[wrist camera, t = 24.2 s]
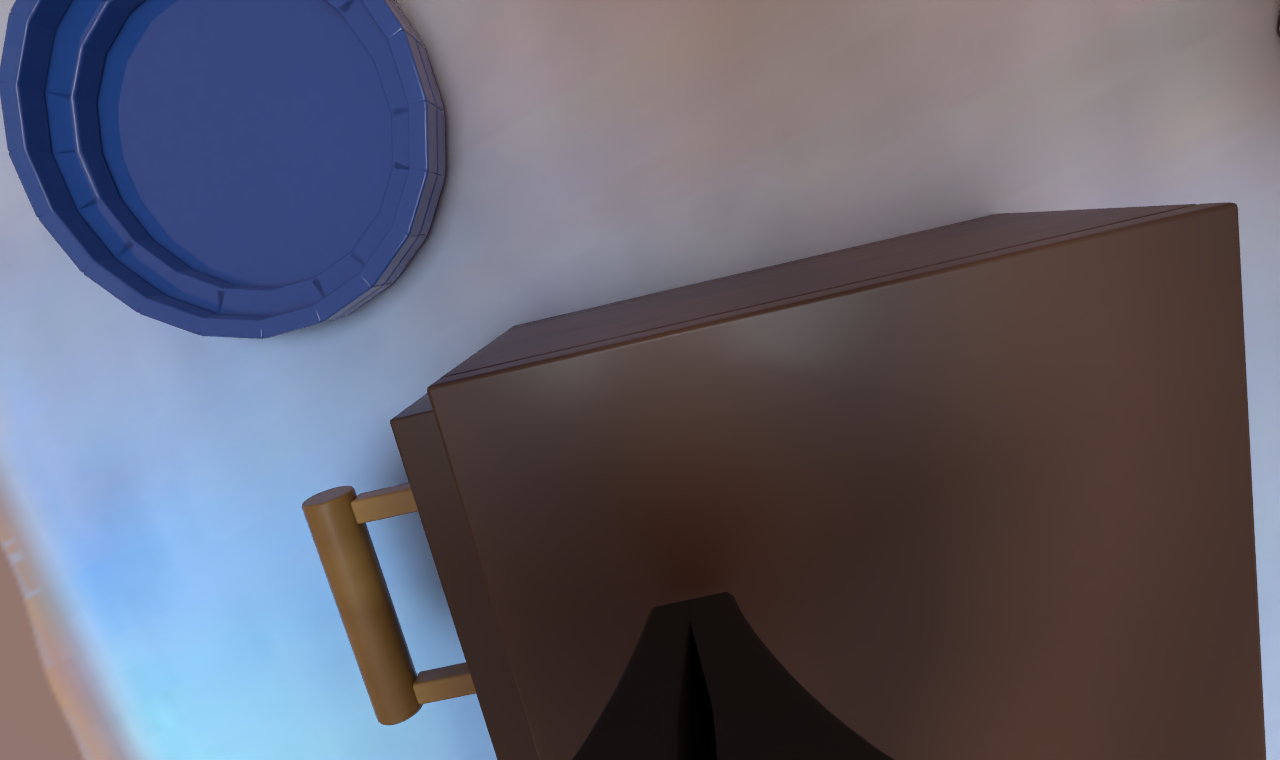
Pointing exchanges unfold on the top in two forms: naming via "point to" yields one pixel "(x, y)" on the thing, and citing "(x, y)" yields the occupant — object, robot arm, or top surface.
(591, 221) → the top surface
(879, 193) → the top surface
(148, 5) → the blue saucer
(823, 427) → the cabinet
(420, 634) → the top surface
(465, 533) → the drawer
